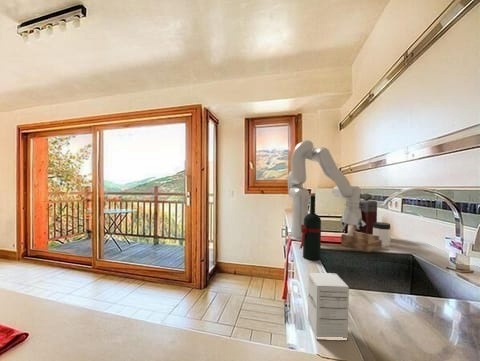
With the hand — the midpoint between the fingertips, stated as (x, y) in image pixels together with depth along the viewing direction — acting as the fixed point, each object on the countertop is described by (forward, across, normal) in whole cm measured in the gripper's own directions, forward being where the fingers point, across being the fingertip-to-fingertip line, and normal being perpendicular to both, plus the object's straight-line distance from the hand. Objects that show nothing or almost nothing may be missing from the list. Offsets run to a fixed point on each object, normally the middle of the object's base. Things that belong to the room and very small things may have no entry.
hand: (352, 234), depth 143 cm
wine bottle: (+3, +8, -52) cm, 53 cm away
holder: (+3, +12, -12) cm, 17 cm away
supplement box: (+3, +42, -91) cm, 100 cm away
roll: (+3, 0, 0) cm, 3 cm away
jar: (+3, +16, +2) cm, 16 cm away
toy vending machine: (+3, +2, +11) cm, 12 cm away
